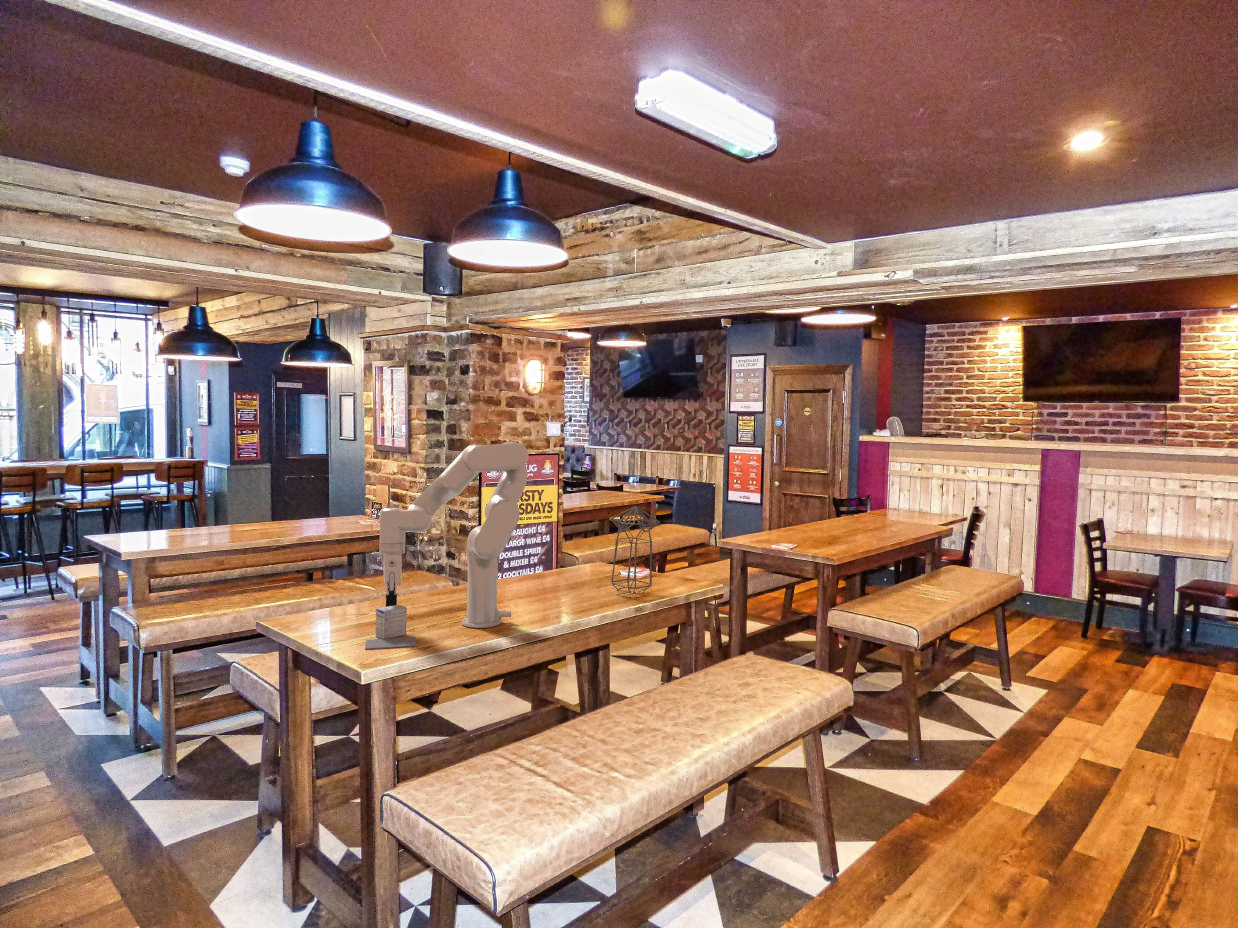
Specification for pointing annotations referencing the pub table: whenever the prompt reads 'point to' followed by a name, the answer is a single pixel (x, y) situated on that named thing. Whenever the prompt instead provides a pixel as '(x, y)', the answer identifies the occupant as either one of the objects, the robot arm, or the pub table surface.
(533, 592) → the pub table surface
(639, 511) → the geometric lantern
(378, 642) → the charcoal mat
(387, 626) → the medicine box
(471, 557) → the robot arm
